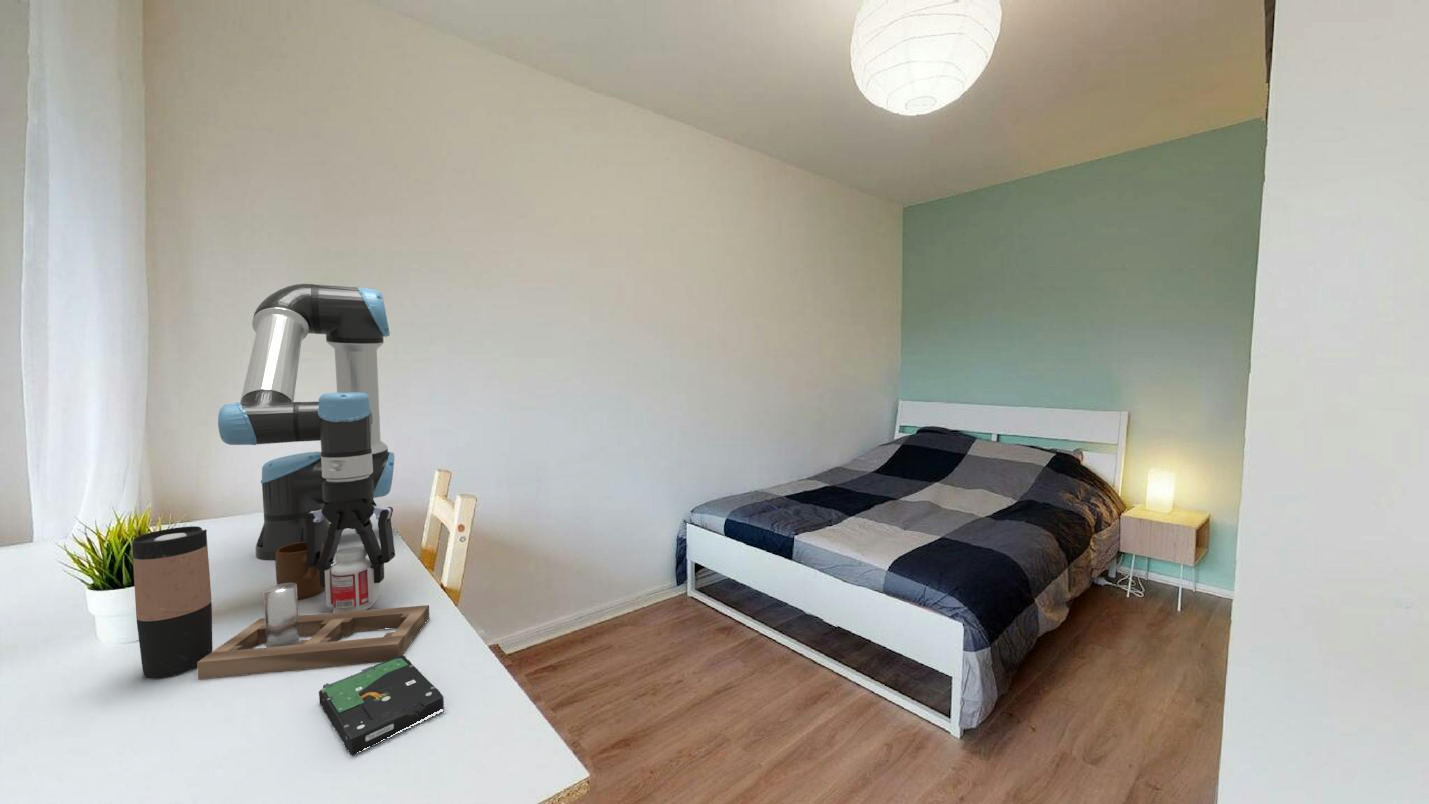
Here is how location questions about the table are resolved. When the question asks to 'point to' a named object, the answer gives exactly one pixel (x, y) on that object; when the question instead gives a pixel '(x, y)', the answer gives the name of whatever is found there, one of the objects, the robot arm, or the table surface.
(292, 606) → the steel peg
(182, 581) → the travel mug
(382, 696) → the disk drive
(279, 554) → the mug
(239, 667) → the socket board
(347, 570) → the pill bottle
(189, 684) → the table surface
